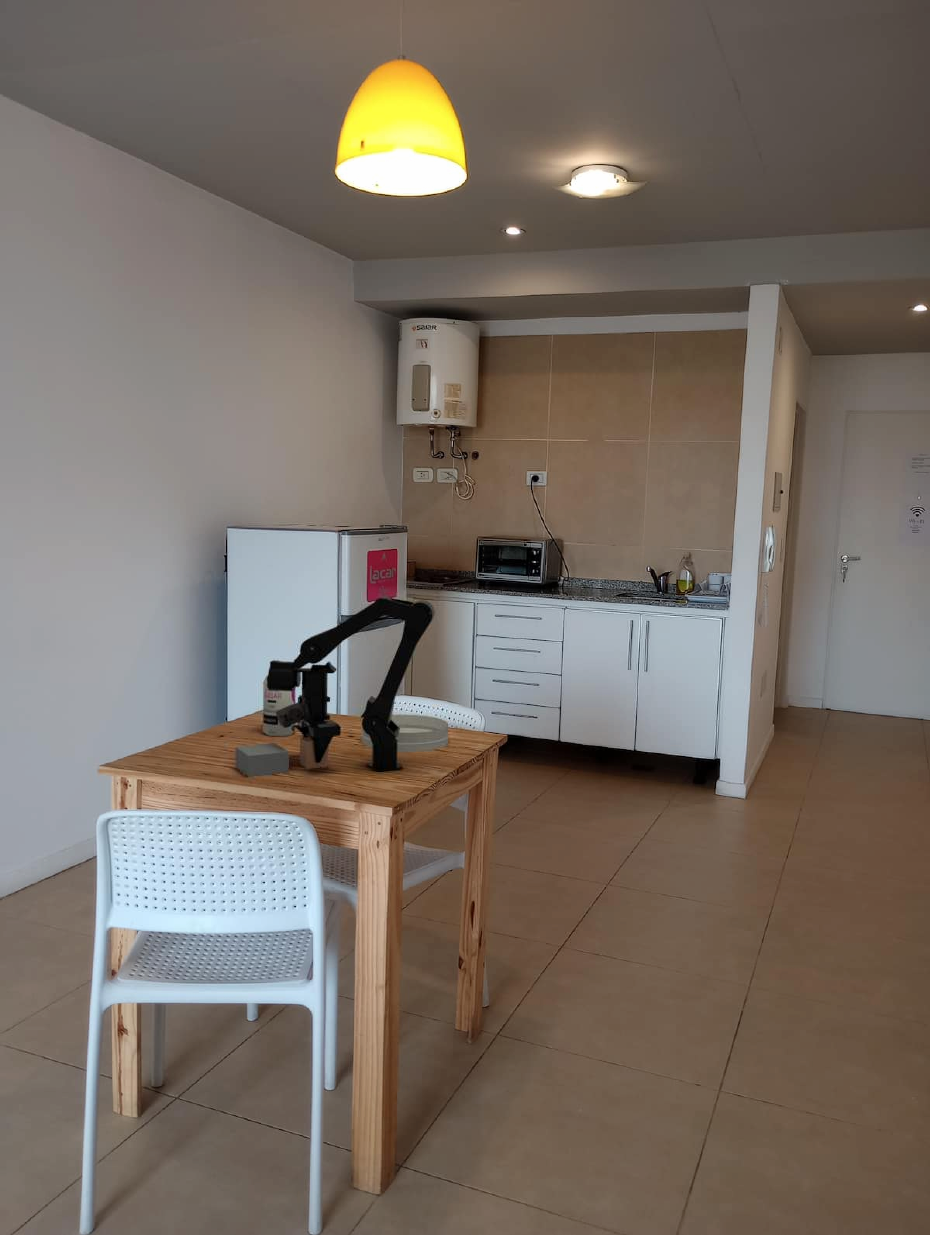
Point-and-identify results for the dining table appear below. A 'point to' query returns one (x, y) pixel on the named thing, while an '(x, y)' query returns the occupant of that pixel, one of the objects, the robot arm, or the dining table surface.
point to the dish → (417, 733)
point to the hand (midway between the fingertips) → (314, 759)
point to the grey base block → (262, 759)
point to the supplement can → (271, 705)
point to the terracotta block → (310, 755)
